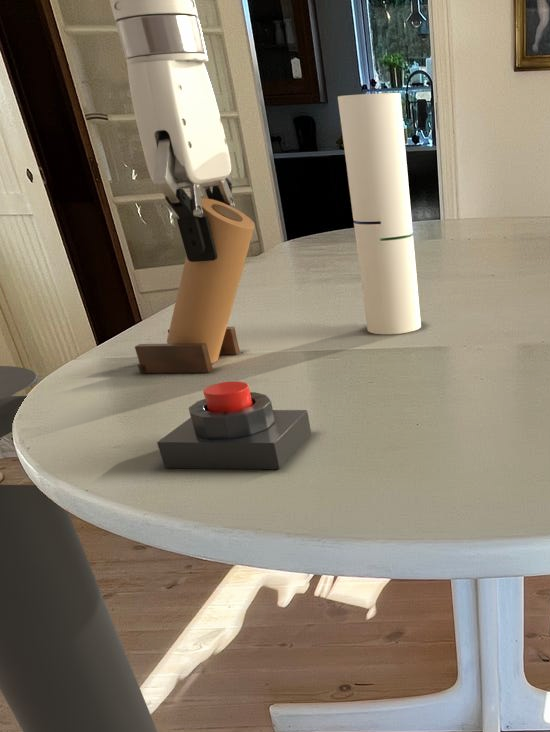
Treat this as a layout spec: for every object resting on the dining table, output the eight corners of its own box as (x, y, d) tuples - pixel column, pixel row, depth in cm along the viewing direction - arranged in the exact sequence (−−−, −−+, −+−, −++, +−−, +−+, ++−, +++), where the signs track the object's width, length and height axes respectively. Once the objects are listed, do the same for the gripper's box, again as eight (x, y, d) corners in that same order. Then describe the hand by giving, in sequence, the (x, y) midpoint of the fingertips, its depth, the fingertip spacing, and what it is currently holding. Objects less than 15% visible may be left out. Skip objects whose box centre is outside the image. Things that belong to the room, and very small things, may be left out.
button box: (164, 468, 61) (149, 420, 58) (207, 433, 67) (195, 389, 65) (279, 469, 59) (269, 420, 57) (311, 434, 66) (303, 389, 63)
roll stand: (240, 352, 91) (234, 326, 90) (208, 373, 84) (201, 345, 82) (176, 352, 92) (169, 327, 91) (139, 373, 85) (131, 346, 83)
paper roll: (225, 355, 90) (263, 223, 81) (205, 369, 85) (242, 230, 76) (180, 331, 89) (213, 194, 80) (157, 343, 85) (189, 200, 75)
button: (201, 416, 60) (195, 394, 59) (219, 402, 63) (214, 381, 62) (242, 416, 59) (237, 394, 58) (259, 402, 62) (255, 381, 61)
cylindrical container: (377, 321, 102) (350, 97, 87) (427, 321, 100) (408, 93, 86) (360, 334, 96) (328, 96, 82) (412, 334, 95) (389, 92, 80)
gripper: (170, 54, 78) (218, 245, 88) (76, 43, 64) (146, 271, 75) (237, 47, 77) (277, 241, 87) (155, 34, 63) (214, 267, 73)
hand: (216, 253), depth 81 cm, fingers closed on paper roll, 5 cm apart
